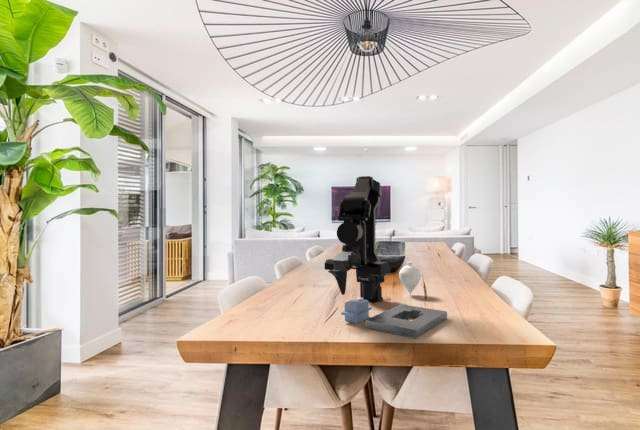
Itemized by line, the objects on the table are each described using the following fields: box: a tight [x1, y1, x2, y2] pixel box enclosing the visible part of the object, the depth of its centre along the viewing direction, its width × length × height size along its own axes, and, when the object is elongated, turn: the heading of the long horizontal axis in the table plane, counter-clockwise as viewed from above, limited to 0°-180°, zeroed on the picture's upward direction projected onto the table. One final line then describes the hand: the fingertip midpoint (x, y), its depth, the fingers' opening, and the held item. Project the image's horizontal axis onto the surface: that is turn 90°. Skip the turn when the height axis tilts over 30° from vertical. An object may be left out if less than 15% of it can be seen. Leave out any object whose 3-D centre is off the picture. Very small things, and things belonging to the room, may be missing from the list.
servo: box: [340, 297, 373, 324], centre depth 103 cm, size 4×10×6 cm, turn 141°
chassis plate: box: [365, 303, 448, 339], centre depth 99 cm, size 20×14×2 cm
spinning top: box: [398, 260, 422, 296], centre depth 132 cm, size 8×8×12 cm
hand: (356, 296), depth 103 cm, fingers open, 9 cm apart
